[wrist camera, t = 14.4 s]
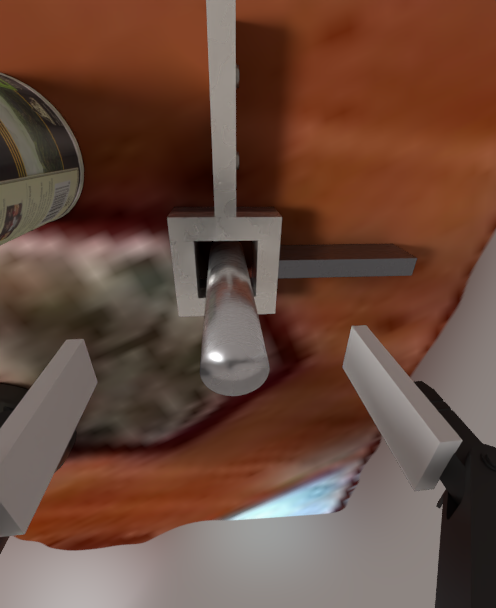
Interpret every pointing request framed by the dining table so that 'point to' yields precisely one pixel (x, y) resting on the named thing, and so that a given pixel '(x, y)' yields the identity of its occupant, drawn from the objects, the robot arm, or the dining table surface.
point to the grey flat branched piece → (253, 220)
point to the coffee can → (34, 161)
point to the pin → (231, 326)
